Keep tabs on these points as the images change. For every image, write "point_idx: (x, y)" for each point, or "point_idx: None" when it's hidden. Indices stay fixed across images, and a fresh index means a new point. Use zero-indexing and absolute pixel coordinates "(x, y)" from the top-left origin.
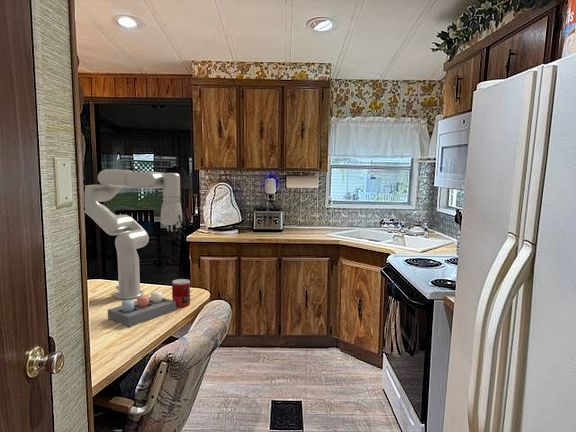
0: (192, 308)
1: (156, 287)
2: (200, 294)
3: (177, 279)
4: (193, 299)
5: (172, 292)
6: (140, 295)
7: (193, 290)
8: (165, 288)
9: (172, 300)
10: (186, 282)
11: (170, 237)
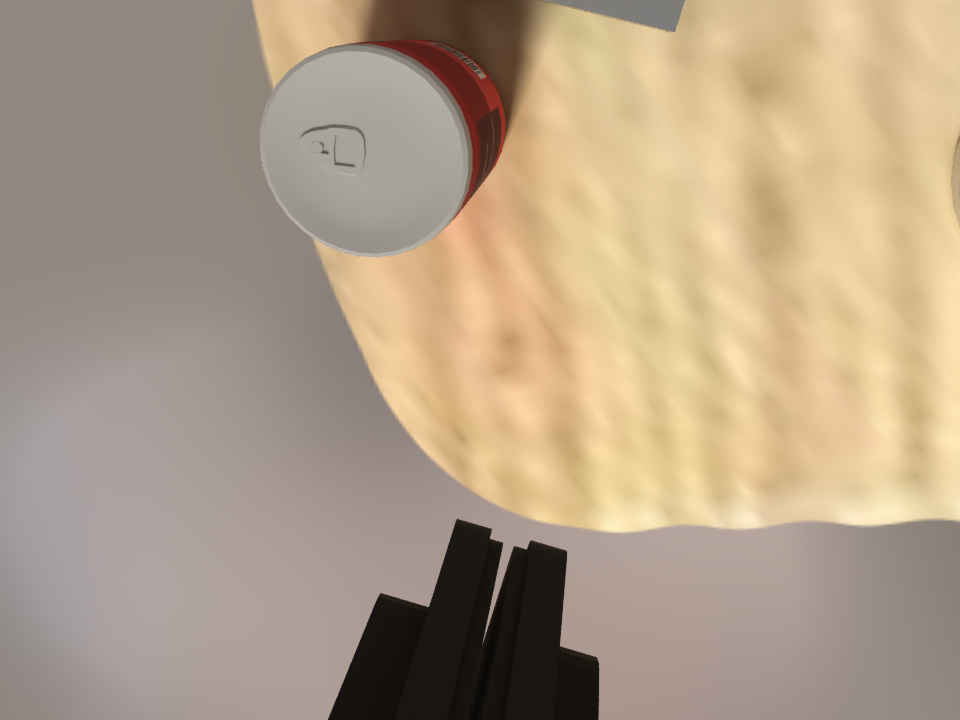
0: (279, 73)
1: (946, 463)
2: (444, 412)
3: (449, 206)
4: (418, 283)
5: (455, 66)
6: (957, 162)
7: (560, 483)
8: (838, 462)
9: (477, 69)
10: (288, 153)
11: (444, 566)
